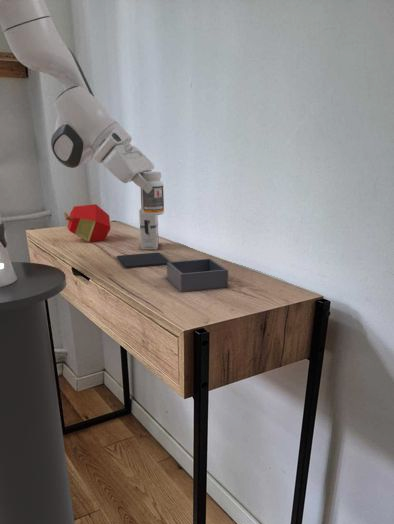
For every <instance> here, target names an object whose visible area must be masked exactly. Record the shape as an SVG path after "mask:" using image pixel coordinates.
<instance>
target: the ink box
mask: <svg viewBox="0 0 394 524" xmlns="http://www.w3.org/2000/svg"><path fill="white" fill-rule="evenodd" d="M138 217H139V218H138V219H139V232H140V234H139V235H140V248H141V251H142V250H143V251H144V250H145V251H146V250H147V251H149V250H152V251H153V250H158V247H159V244H160V240H159V238H160V237H159V218H158V217H159V215H144V214H142V210H141V207H140V208H139V210H138Z"/></svg>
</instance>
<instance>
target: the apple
mask: <svg viewBox="0 0 394 524" xmlns="http://www.w3.org/2000/svg"><path fill="white" fill-rule="evenodd" d="M63 216H64V219H65V220H66V221H67V230H68V231H69V232H70V233H72V234H74V235H75V236H77V237H79V238H80V239H82V240H84V241H85V242H87V243H94V242H100V241H101V242H102V241H105V240H106V239H107V237H108V235H109V233H110V232H111V231H110V230H111V220H110V219H111V218H110V214H108V212H106V211H105V210H104V209H102V208H101V207H100V206H99V205H98V204H96V203H95V204H86V205H85V204H84V205H74V206H73V207H72V210H71V211H70V213H69V214H68V213H67V212H64V213H63Z"/></svg>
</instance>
